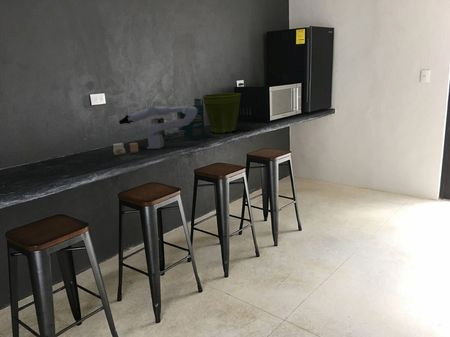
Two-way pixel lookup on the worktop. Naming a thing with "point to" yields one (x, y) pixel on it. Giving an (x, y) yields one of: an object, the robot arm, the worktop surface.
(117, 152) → the tower base
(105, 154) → the worktop surface
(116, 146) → the tower top
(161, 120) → the coffee box
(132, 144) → the terracotta cube
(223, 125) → the plant pot
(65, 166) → the worktop surface
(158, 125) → the robot arm
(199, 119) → the donation box
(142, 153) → the worktop surface
